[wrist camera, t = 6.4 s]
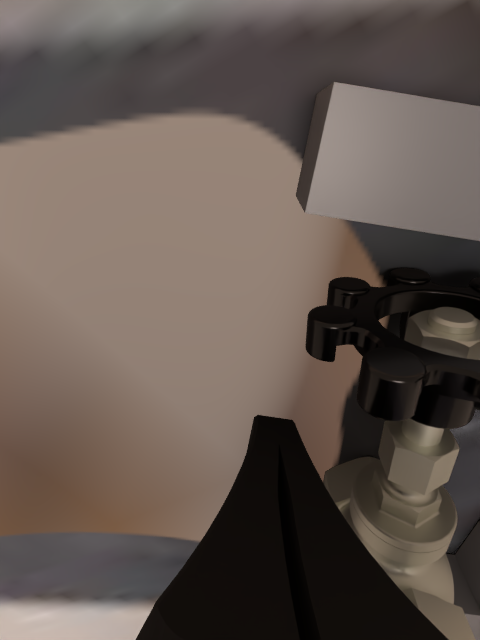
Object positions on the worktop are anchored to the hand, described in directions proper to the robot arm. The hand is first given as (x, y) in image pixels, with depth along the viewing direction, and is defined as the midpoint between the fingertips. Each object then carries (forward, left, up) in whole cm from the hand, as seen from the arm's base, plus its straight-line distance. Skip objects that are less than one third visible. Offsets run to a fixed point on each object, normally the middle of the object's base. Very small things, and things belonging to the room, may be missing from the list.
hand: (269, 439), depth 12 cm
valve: (0, -4, -2) cm, 5 cm away
